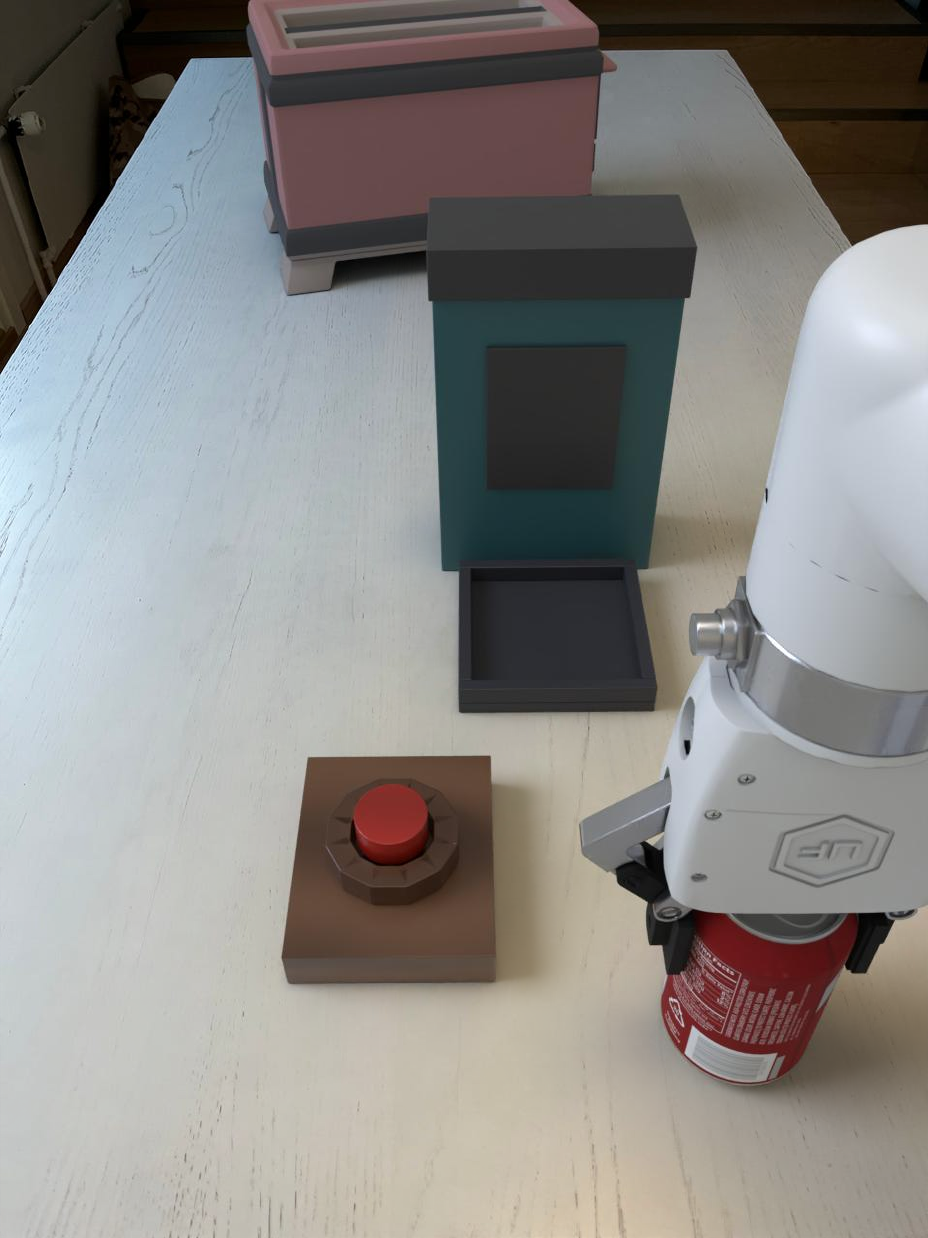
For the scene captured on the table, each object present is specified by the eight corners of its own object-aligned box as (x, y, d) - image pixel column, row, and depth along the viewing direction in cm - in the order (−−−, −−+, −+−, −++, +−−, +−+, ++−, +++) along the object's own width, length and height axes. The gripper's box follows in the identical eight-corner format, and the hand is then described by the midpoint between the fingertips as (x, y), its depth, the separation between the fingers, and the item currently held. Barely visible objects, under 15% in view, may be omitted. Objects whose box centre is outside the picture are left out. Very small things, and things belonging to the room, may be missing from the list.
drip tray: (654, 711, 65) (657, 688, 63) (458, 712, 65) (458, 689, 63) (632, 580, 73) (635, 558, 72) (459, 582, 73) (458, 559, 72)
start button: (427, 865, 53) (426, 844, 52) (353, 865, 53) (350, 844, 52) (429, 804, 56) (428, 783, 54) (359, 805, 56) (356, 784, 54)
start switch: (495, 982, 52) (495, 939, 50) (287, 983, 52) (276, 940, 50) (490, 782, 61) (490, 736, 58) (312, 783, 61) (304, 737, 58)
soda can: (773, 1123, 47) (834, 989, 39) (634, 1041, 50) (663, 900, 42) (827, 999, 52) (893, 854, 43) (695, 930, 54) (733, 781, 46)
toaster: (628, 251, 108) (650, 24, 94) (286, 295, 103) (255, 60, 88) (568, 177, 122) (579, -32, 108) (263, 212, 116) (232, -4, 102)
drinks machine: (651, 572, 74) (697, 246, 58) (438, 574, 74) (426, 249, 58) (639, 510, 79) (679, 193, 63) (440, 512, 79) (429, 196, 63)
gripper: (587, 740, 31) (557, 1030, 43) (1200, 735, 31) (995, 1027, 43) (568, 567, 36) (547, 868, 49) (1090, 562, 36) (936, 865, 49)
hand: (758, 941), depth 46 cm, fingers closed on soda can, 6 cm apart
